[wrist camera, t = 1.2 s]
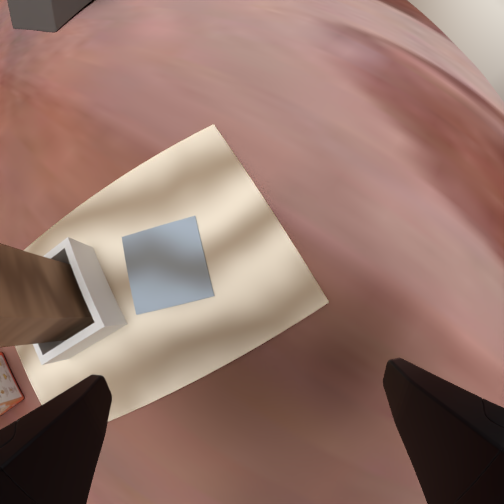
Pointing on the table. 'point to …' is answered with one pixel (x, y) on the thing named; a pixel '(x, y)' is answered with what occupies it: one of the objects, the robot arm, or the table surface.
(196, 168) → the board
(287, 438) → the table surface
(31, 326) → the walnut block
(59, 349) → the sleeve
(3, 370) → the cracker box
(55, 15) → the touchscreen device
